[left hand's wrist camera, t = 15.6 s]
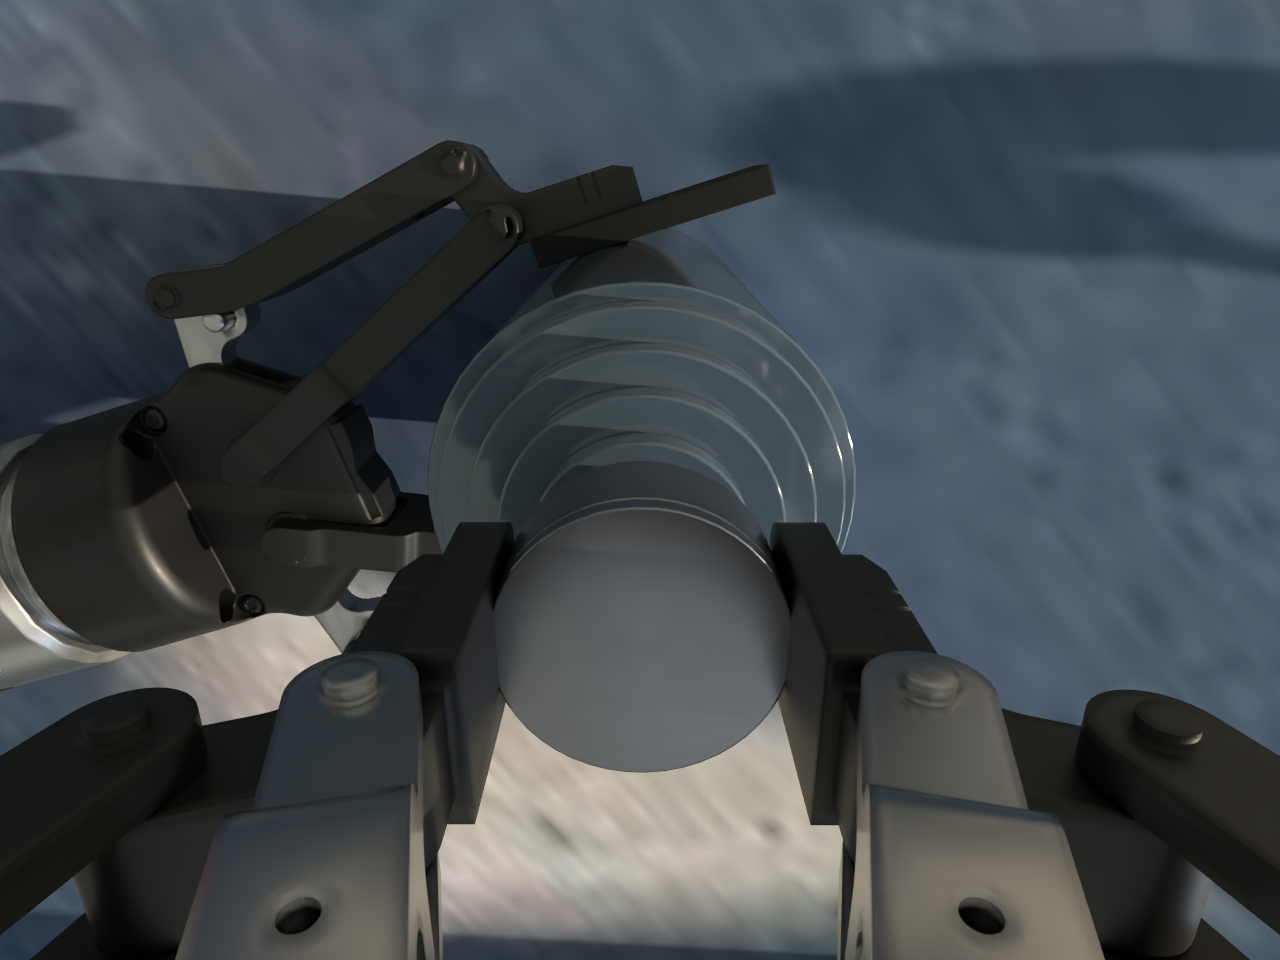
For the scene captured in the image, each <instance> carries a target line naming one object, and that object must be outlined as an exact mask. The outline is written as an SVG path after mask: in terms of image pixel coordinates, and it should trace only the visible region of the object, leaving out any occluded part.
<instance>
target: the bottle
mask: <svg viewBox="0 0 1280 960" xmlns="http://www.w3.org/2000/svg"><path fill="white" fill-rule="evenodd" d="M631 461H653V462H661V463H668V464H674V465H677V466H681V467H684V468H688V469H691V470H694V471H696V472H698V473H700V474H703V475H705V476H707V477H709V478H711V479H713V480H714V481H716V482H718V483H719V484H721V485H723V486H724V487H725V488H727V489H728V490H729V491H730V492H732V493H733V494H734V495H735V496H737V497H738V498H739V499H740V500H741V502H742V503H743V504H744V505H745V506H746V507H747V508H748V509H749V510H750V511H751V513H752V514H753V516H754V517H755V518H756V520H757V521H758V523H759V524H760V526H761V528H762V530H763V532H764V534H765V536H766V538H767V541H768V544H769V545H770V534H771V528H772V525H773V523H774V522H824V523H825V524H826V526H827V527H828V529H829V531H830V533H831V535H832V537H833V539H834V541H835V543H836V544H837V546H838V548H839V550H840V552H841V553H842V550H843V548H844V546H845V543H846V539H847V536H848V532H849V529H850V525H851V522H852V517H853V510H854V503H855V496H856V467H855V459H854V452H853V445H852V440H851V437H850V433H849V430H848V426H847V423H846V419H845V416H844V414H843V412H842V409H841V407H840V405H839V403H838V400H837V398H836V396H835V394H834V392H833V390H832V388H831V387H830V385H829V384H828V382H827V380H826V379H825V377H824V376H823V374H822V373H821V371H820V369H819V368H818V367H817V365H816V364H815V363H814V362H813V361H812V360H811V358H810V357H809V356H808V355H807V354H806V353H805V351H804V350H803V349H802V348H801V347H800V346H799V345H798V343H797V342H796V341H795V340H794V339H793V338H792V337H791V336H790V335H789V334H788V333H787V332H786V330H785V329H784V328H783V327H782V326H781V325H780V324H779V323H778V322H777V321H776V320H775V318H774V317H773V316H772V315H771V314H770V313H769V312H768V311H767V310H766V309H765V308H764V307H763V305H762V304H761V303H760V302H759V301H758V300H757V299H756V298H755V297H754V296H753V295H752V293H751V292H750V291H749V290H748V289H747V288H746V287H745V286H744V285H743V284H742V283H741V282H740V280H739V279H738V278H737V277H736V276H735V275H734V274H733V273H732V272H731V271H730V270H729V268H728V267H727V266H726V265H725V264H724V263H723V262H722V261H721V260H720V259H719V258H718V257H717V256H716V255H715V254H714V253H713V252H712V251H710V250H709V249H708V248H707V247H705V246H704V245H702V244H701V243H699V242H698V241H696V240H694V239H692V238H690V237H688V236H686V235H684V234H682V233H679V232H676V231H673V230H670V229H663V230H659V231H656V232H653V233H650V234H647V235H644V236H641V237H637V238H634V239H631V240H628V241H625V242H622V243H619V244H615V245H612V246H609V247H606V248H603V249H600V250H597V251H593V252H590V253H587V254H584V255H581V256H578V257H575V258H571V259H568V260H565V261H563V262H562V263H561V264H560V265H559V266H558V267H557V268H556V269H555V270H554V272H553V273H552V274H551V275H550V276H549V277H548V278H547V279H546V280H545V281H544V282H543V283H542V284H541V285H540V287H539V288H538V289H537V290H536V291H535V292H534V293H533V294H532V295H531V296H530V297H529V298H528V299H527V300H526V302H525V303H524V304H523V305H522V306H521V307H520V308H519V309H518V310H517V311H516V312H515V313H514V314H513V315H512V317H511V318H510V319H509V320H508V321H507V322H506V323H505V324H504V325H503V326H502V327H501V328H500V329H499V330H498V332H497V333H496V334H495V335H494V336H493V337H492V338H491V339H490V340H489V341H488V342H487V343H486V344H485V345H484V347H483V348H482V349H481V350H480V351H479V352H478V353H477V354H476V355H475V357H474V358H473V359H472V361H471V362H470V363H469V365H468V366H467V367H466V368H465V370H464V371H463V372H462V374H461V375H460V376H459V378H458V380H457V382H456V383H455V385H454V387H453V389H452V391H451V392H450V394H449V396H448V398H447V399H446V402H445V404H444V407H443V409H442V412H441V414H440V417H439V420H438V422H437V425H436V429H435V433H434V437H433V441H432V446H431V450H430V459H429V471H428V489H429V505H430V510H431V515H432V520H433V525H434V530H435V533H436V536H437V539H438V542H439V544H440V547H441V550H442V553H444V551H445V549H446V547H447V545H448V543H449V542H450V540H451V538H452V536H453V534H454V532H455V530H456V528H457V526H458V524H459V523H460V522H511V524H512V527H513V532H514V542H515V540H516V538H517V535H518V533H519V531H520V529H521V527H522V526H523V524H524V522H525V521H526V519H527V518H528V516H529V515H530V513H531V512H532V511H533V510H534V509H535V507H536V506H537V505H538V504H539V503H540V502H541V501H542V500H543V499H544V498H545V497H546V496H547V495H549V494H550V493H551V492H552V491H553V490H554V489H556V488H557V487H559V486H560V485H562V484H563V483H565V482H566V481H568V480H570V479H572V478H574V477H576V476H578V475H580V474H582V473H584V472H587V471H589V470H592V469H595V468H598V467H601V466H605V465H610V464H615V463H620V462H631Z"/></svg>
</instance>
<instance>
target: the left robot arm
mask: <svg viewBox="0 0 1280 960" xmlns="http://www.w3.org/2000/svg"><path fill="white" fill-rule="evenodd" d="M513 545H514V532H513V527H512V524H511V522H460V523H459V524H458V526H457V528H456V530H455V532H454V534H453V536H452V538H451V540H450V542H449V543H448V545H447V547H446V549H445V551H444V553H443V554H422V555H421V556H420V557H418V558H417V559H415V560H414V561H412V562H411V563H409V564H408V565H406V566H405V567H403V568H402V569H400V570H399V571H398V572H397V574H396V575H395V577H394V579H393V580H392V582H391V584H390V585H389V587H388V589H387V593H386V594H384V595H383V597H382V598H381V600H380V602H379V603H378V605H377V610H374V612H373V613H372V615H371V617H370V618H369V620H368V621H367V623H366V625H365V626H364V628H363V630H362V631H361V633H360V635H359V636H358V638H357V640H356V641H355V643H354V644H353V646H352V648H351V649H350V651H349V653H346V654H342V655H338V656H334V657H331V658H328V659H325V660H323V661H321V662H318V663H316V664H314V665H312V666H310V667H309V668H307V669H305V670H304V671H302V672H301V673H300V674H298V675H297V676H296V677H295V678H294V679H293V680H292V681H291V682H290V683H289V684H288V685H287V687H286V688H285V690H284V692H283V695H282V697H281V701H280V705H279V709H278V710H275V711H272V712H268V713H264V714H259V715H255V716H250V717H245V718H239V719H234V720H229V721H224V722H219V723H214V724H209V725H204V726H202V723H201V719H200V714H199V710H198V706H197V703H196V701H195V700H194V698H193V697H192V696H190V695H189V694H187V693H185V692H183V691H180V690H176V689H171V688H144V689H137V690H131V691H126V692H122V693H118V694H115V695H111V696H108V697H105V698H102V699H100V700H97V701H94V702H92V703H90V704H88V705H85V706H83V707H81V708H79V709H77V710H76V711H74V712H72V713H70V714H68V715H67V716H65V717H63V718H62V719H60V720H59V721H57V722H55V723H54V724H52V725H50V726H49V727H47V728H45V729H44V730H42V731H41V732H39V733H37V734H36V735H34V736H32V737H31V738H29V739H27V740H26V741H24V742H23V743H21V744H19V745H18V746H16V747H14V748H13V749H11V750H10V751H8V752H6V753H5V754H3V755H1V756H0V935H1V934H2V933H3V932H5V931H6V930H7V929H8V928H10V927H11V926H12V925H13V924H15V923H16V922H17V921H18V920H20V919H21V918H22V917H23V916H25V915H26V914H27V913H28V912H30V911H31V910H32V909H33V908H35V907H36V906H37V905H38V904H40V903H41V902H42V901H43V900H45V899H46V898H47V897H48V896H50V895H51V894H52V893H53V892H55V891H56V890H57V889H58V888H60V887H61V886H62V885H63V884H65V883H66V882H67V881H68V880H70V879H71V878H72V877H73V876H74V878H75V881H76V884H77V887H78V891H79V894H80V897H81V900H82V903H83V906H84V909H85V913H84V914H83V915H82V916H81V917H79V918H78V919H77V920H76V921H75V922H74V923H72V924H71V925H70V926H69V927H68V928H67V929H65V930H64V931H63V932H62V933H61V934H59V935H58V936H57V937H56V938H55V939H54V940H52V941H51V942H50V943H49V944H48V945H47V946H45V947H44V948H43V949H42V950H41V951H40V952H38V953H37V954H36V955H35V956H34V957H33V958H31V959H30V960H443V942H442V904H441V871H440V862H439V853H438V851H439V849H440V846H441V843H442V840H443V836H444V833H445V830H446V826H447V824H475V822H476V818H477V814H478V810H479V806H480V802H481V798H482V794H483V790H484V786H485V782H486V778H487V774H488V770H489V766H490V762H491V758H492V754H493V750H494V746H495V742H496V738H497V735H498V731H499V727H500V723H501V719H502V715H503V711H504V707H505V703H506V701H505V699H504V697H503V695H502V694H501V692H500V690H499V680H498V666H497V653H496V639H495V625H494V610H493V604H494V600H495V597H496V594H497V591H498V588H499V585H500V582H501V579H502V576H503V574H504V571H505V568H506V565H507V562H508V559H509V556H510V553H511V550H512V547H513ZM769 547H770V550H771V553H772V555H773V558H774V561H775V564H776V567H777V570H778V573H779V576H780V579H781V581H782V584H783V587H784V590H785V593H786V596H787V599H788V602H789V605H790V608H791V622H790V635H789V648H788V662H787V675H786V684H785V686H784V689H783V691H782V693H781V695H780V697H779V699H778V702H779V705H780V709H781V713H782V717H783V721H784V725H785V728H786V732H787V736H788V740H789V744H790V748H791V751H792V755H793V759H794V763H795V767H796V771H797V774H798V778H799V782H800V786H801V790H802V794H803V797H804V801H805V805H806V809H807V813H808V817H809V820H810V824H811V825H839V827H840V831H841V834H842V837H843V845H842V854H841V862H840V871H839V905H838V943H837V960H1250V959H1249V958H1247V957H1246V956H1245V955H1244V954H1243V953H1242V952H1240V951H1239V950H1238V949H1237V948H1236V947H1235V946H1233V945H1232V944H1231V943H1230V942H1229V941H1228V940H1226V939H1225V938H1224V937H1223V936H1222V935H1221V934H1219V933H1218V932H1217V931H1216V930H1215V929H1213V928H1212V927H1211V926H1210V925H1209V924H1208V923H1206V922H1205V921H1204V920H1203V919H1202V918H1201V916H1202V913H1203V910H1204V907H1205V904H1206V901H1207V898H1208V895H1209V892H1210V888H1211V885H1212V882H1214V883H1215V884H1217V885H1218V886H1219V887H1220V888H1222V889H1223V890H1224V891H1225V892H1227V893H1228V894H1229V895H1230V896H1232V897H1233V898H1234V899H1235V900H1237V901H1238V902H1239V903H1240V904H1242V905H1243V906H1244V907H1245V908H1247V909H1248V910H1249V911H1250V912H1252V913H1253V914H1254V915H1255V916H1257V917H1258V918H1259V919H1260V920H1262V921H1263V922H1264V923H1265V924H1267V925H1268V926H1269V927H1270V928H1272V929H1273V930H1274V931H1275V932H1277V933H1278V934H1279V935H1280V756H1279V755H1277V754H1275V753H1274V752H1272V751H1271V750H1269V749H1267V748H1266V747H1264V746H1262V745H1261V744H1259V743H1257V742H1256V741H1254V740H1253V739H1251V738H1249V737H1248V736H1246V735H1244V734H1243V733H1241V732H1239V731H1238V730H1236V729H1235V728H1233V727H1231V726H1230V725H1228V724H1226V723H1225V722H1223V721H1222V720H1220V719H1218V718H1217V717H1215V716H1213V715H1211V714H1210V713H1208V712H1206V711H1204V710H1202V709H1200V708H1198V707H1196V706H1193V705H1191V704H1189V703H1186V702H1184V701H1181V700H1178V699H1175V698H1172V697H1168V696H1165V695H1161V694H1157V693H1152V692H1146V691H1139V690H1113V691H1107V692H1103V693H1101V694H1098V695H1096V696H1094V697H1093V698H1091V699H1090V701H1089V702H1088V703H1087V705H1086V709H1085V713H1084V717H1083V721H1082V726H1078V725H1073V724H1068V723H1063V722H1058V721H1053V720H1048V719H1042V718H1037V717H1032V716H1028V715H1023V714H1019V713H1015V712H1012V711H1009V710H1006V709H1003V708H1001V705H1000V701H999V697H998V694H997V692H996V690H995V688H994V687H993V685H992V684H991V682H990V681H988V680H987V679H986V678H985V677H984V676H983V675H982V674H981V673H979V672H978V671H976V670H975V669H973V668H971V667H970V666H968V665H966V664H964V663H962V662H960V661H957V660H955V659H952V658H949V657H946V656H942V655H938V654H937V652H936V651H935V649H934V647H933V646H932V644H931V642H930V641H929V639H928V638H927V636H926V634H925V633H924V631H923V630H922V628H921V626H920V625H919V623H918V621H917V620H916V618H915V617H914V615H913V613H912V612H911V611H908V605H907V604H906V602H905V600H904V599H903V597H902V596H901V594H898V589H897V588H896V586H895V584H894V583H893V581H892V579H891V578H890V576H889V575H888V573H887V571H885V570H884V569H882V568H881V567H879V566H878V565H876V564H875V563H873V562H872V561H870V560H869V559H867V558H866V557H864V556H863V555H842V554H841V552H840V550H839V548H838V546H837V544H836V543H835V541H834V539H833V537H832V535H831V533H830V531H829V529H828V527H827V526H826V524H825V523H824V522H774V523H773V525H772V528H771V534H770V545H769Z"/></svg>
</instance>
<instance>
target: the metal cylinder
mask: <svg viewBox="0 0 1280 960" xmlns="http://www.w3.org/2000/svg"><path fill="white" fill-rule="evenodd" d="M493 610H494V625H495V639H496V653H497V666H498V680H499V690H500V692H501V694H502V695H503V697H504V699H505V701H506V703H507V704H508V706H509V707H510V708H511V710H512V711H513V713H514V714H515V716H516V717H517V718H518V719H519V720H520V721H521V722H522V723H523V724H524V725H525V727H526V728H527V729H528V730H530V731H531V732H532V733H533V734H534V735H535V736H537V737H538V738H539V739H540V740H541V741H543V742H544V743H546V744H548V745H549V746H551V747H552V748H554V749H555V750H557V751H559V752H561V753H563V754H565V755H567V756H569V757H571V758H573V759H575V760H578V761H581V762H584V763H586V764H589V765H592V766H596V767H600V768H604V769H609V770H616V771H623V772H659V771H667V770H673V769H678V768H683V767H686V766H690V765H693V764H696V763H700V762H702V761H705V760H707V759H709V758H712V757H714V756H716V755H718V754H720V753H722V752H724V751H725V750H727V749H729V748H731V747H733V746H734V745H735V744H737V743H738V742H739V741H741V740H742V739H744V738H745V737H746V736H748V735H749V734H750V733H751V732H752V731H753V730H754V729H755V728H756V727H757V726H758V725H759V724H760V723H761V722H762V721H763V720H764V718H765V717H766V716H767V715H768V714H769V712H770V711H771V710H772V708H773V707H774V705H775V703H776V702H777V700H778V699H779V697H780V695H781V693H782V691H783V689H784V686H785V684H786V675H787V662H788V648H789V635H790V622H791V608H790V605H789V602H788V599H787V596H786V593H785V590H784V587H783V584H782V581H781V579H780V576H779V573H778V570H777V567H776V564H775V561H774V558H773V555H772V553H771V550H770V547H769V544H768V541H767V538H766V536H765V534H764V532H763V530H762V528H761V526H760V524H759V523H758V521H757V520H756V518H755V517H754V516H753V514H752V513H751V511H750V510H749V509H748V508H747V507H746V506H745V505H744V504H743V503H742V502H741V500H740V499H739V498H738V497H737V496H735V495H734V494H733V493H732V492H730V491H729V490H728V489H727V488H725V487H724V486H723V485H721V484H719V483H718V482H716V481H714V480H713V479H711V478H709V477H707V476H705V475H703V474H700V473H698V472H696V471H694V470H691V469H688V468H684V467H681V466H677V465H674V464H668V463H661V462H653V461H631V462H620V463H615V464H610V465H605V466H601V467H598V468H595V469H592V470H589V471H587V472H584V473H582V474H580V475H578V476H576V477H574V478H572V479H570V480H568V481H566V482H565V483H563V484H562V485H560V486H559V487H557V488H556V489H554V490H553V491H552V492H551V493H550V494H549V495H547V496H546V497H545V498H544V499H543V500H542V501H541V502H540V503H539V504H538V505H537V506H536V507H535V509H534V510H533V511H532V512H531V513H530V515H529V516H528V518H527V519H526V521H525V522H524V524H523V526H522V527H521V529H520V531H519V533H518V535H517V538H516V540H515V542H514V545H513V547H512V550H511V553H510V556H509V559H508V562H507V565H506V568H505V571H504V574H503V576H502V579H501V582H500V585H499V588H498V591H497V594H496V597H495V600H494V604H493Z"/></svg>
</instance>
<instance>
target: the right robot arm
mask: <svg viewBox="0 0 1280 960" xmlns="http://www.w3.org/2000/svg"><path fill="white" fill-rule="evenodd" d="M773 194H776V192H775V188H774V184H773V179H772V175H771V171H770V167H769V164H764V165H756V166H752V167H749V168H746V169H742V170H739V171H736V172H733V173H730V174H727V175H724V176H721V177H718V178H715V179H711V180H708V181H705V182H702V183H699V184H696V185H693V186H690V187H687V188H683V189H680V190H677V191H674V192H671V193H668V194H665V195H662V196H659V197H655V198H652V199H649V200H646V201H643V202H642V199H641V195H640V192H639V188H638V185H637V181H636V178H635V174H634V171H633V167H626V166H615V165H611V166H608V167H605V168H602V169H599V170H596V171H593V172H590V173H587V174H584V175H581V176H578V177H575V178H572V179H569V180H566V181H563V182H560V183H557V184H553V185H550V186H547V187H544V188H541V189H538V190H535V191H532V192H529V193H522V192H519V191H516V190H514V189H512V188H511V187H509V186H508V185H507V184H506V183H505V182H504V181H503V179H502V178H501V177H500V175H499V174H498V173H497V171H496V170H495V169H494V167H493V166H492V165H491V163H490V162H489V160H488V157H487V155H486V154H485V153H484V152H483V150H482V149H480V148H478V147H477V146H475V145H471V144H466V143H462V142H457V141H450V140H448V141H444V142H441V143H439V144H437V145H435V146H433V147H432V148H430V149H428V150H426V151H425V152H423V153H421V154H419V155H418V156H416V157H414V158H412V159H411V160H409V161H407V162H405V163H404V164H402V165H400V166H398V167H396V168H395V169H393V170H391V171H389V172H388V173H386V174H384V175H382V176H381V177H379V178H377V179H375V180H374V181H372V182H370V183H368V184H367V185H365V186H363V187H361V188H360V189H358V190H356V191H354V192H352V193H351V194H349V195H347V196H345V197H344V198H342V199H340V200H338V201H337V202H335V203H333V204H331V205H330V206H328V207H326V208H324V209H323V210H321V211H319V212H317V213H316V214H314V215H312V216H310V217H309V218H307V219H305V220H303V221H301V222H300V223H298V224H296V225H294V226H293V227H291V228H289V229H287V230H286V231H284V232H282V233H280V234H279V235H277V236H275V237H273V238H272V239H270V240H268V241H266V242H265V243H263V244H261V245H259V246H257V247H256V248H254V249H252V250H250V251H249V252H247V253H245V254H243V255H242V256H240V257H238V258H236V259H235V260H233V261H231V262H229V263H224V264H216V265H208V266H202V267H197V268H192V269H187V270H182V271H177V272H172V273H167V274H162V275H158V276H156V277H153V278H152V279H151V280H150V281H149V282H148V283H147V286H146V290H145V294H146V300H147V302H148V304H149V306H150V308H151V309H152V310H153V311H154V312H155V313H156V314H157V315H159V316H162V317H164V318H166V319H174V321H175V324H176V327H177V330H178V334H179V337H180V340H181V343H182V346H183V349H184V352H185V356H186V359H187V362H188V365H189V369H187V370H186V371H185V372H183V373H182V374H181V375H180V376H179V378H178V379H177V381H176V382H175V383H174V384H173V386H172V387H171V388H169V389H168V390H167V391H166V392H163V393H160V394H157V395H154V396H151V397H148V398H144V399H141V400H138V401H135V402H132V403H129V404H126V405H122V406H119V407H116V408H113V409H110V410H107V411H104V412H101V413H97V414H94V415H91V416H88V417H85V418H82V419H79V420H75V421H72V422H69V423H66V424H63V425H60V426H57V427H55V428H53V429H51V430H49V431H47V432H46V433H45V434H31V435H28V436H25V437H22V438H19V439H16V440H12V441H9V442H6V443H3V444H0V691H3V690H7V689H11V688H13V687H16V686H19V685H23V684H27V683H31V682H34V681H38V680H42V679H46V678H49V677H53V676H57V675H61V674H64V673H68V672H72V671H76V670H79V669H83V668H87V667H91V666H94V665H98V664H102V663H106V662H109V661H112V660H115V659H118V658H120V657H123V656H126V655H128V654H129V653H131V652H139V651H144V650H149V649H153V648H156V647H160V646H163V645H167V644H170V643H174V642H177V641H181V640H184V639H188V638H191V637H195V636H198V635H202V634H205V633H209V632H212V631H216V630H219V629H223V628H226V627H230V626H233V625H236V624H239V623H242V622H245V621H248V620H251V619H253V618H256V617H259V616H261V615H265V614H269V613H287V614H293V615H298V616H315V617H316V619H317V620H318V621H319V623H320V624H321V625H322V627H323V628H324V629H325V631H326V632H327V634H328V635H329V636H330V638H331V639H332V640H333V642H334V643H335V644H336V646H337V647H338V648H339V650H340V651H341V653H342V654H346V653H349V651H350V649H351V648H352V646H353V644H354V643H355V641H356V640H357V638H358V636H359V635H360V633H361V631H362V630H363V628H364V626H365V625H366V623H367V621H368V620H369V618H370V617H371V615H372V613H373V612H374V610H377V605H378V603H379V602H380V600H381V598H382V597H383V596H381V597H375V598H370V599H362V598H359V597H356V596H355V595H353V594H352V593H351V592H350V591H349V590H348V589H347V588H348V586H349V585H350V583H351V582H352V580H353V579H354V578H355V576H356V575H357V573H358V572H359V571H360V569H366V570H376V571H386V572H398V571H399V570H400V569H402V568H403V567H405V566H406V565H408V564H409V563H411V562H412V561H414V560H415V559H417V558H418V557H420V556H421V555H422V554H443V553H442V550H441V547H440V544H439V542H438V539H437V536H436V533H435V530H434V525H433V520H432V515H431V510H430V505H429V496H428V495H423V494H415V493H405V492H401V491H400V489H399V487H398V484H397V482H396V480H395V478H394V475H393V473H392V471H391V470H390V468H389V467H388V466H387V464H386V463H385V462H384V461H383V459H382V458H381V457H380V455H379V454H378V453H377V451H376V448H375V442H374V436H373V429H372V425H371V423H370V420H369V418H368V416H367V413H366V411H365V409H364V407H363V404H361V405H357V406H356V405H355V404H354V403H353V402H352V401H353V400H354V399H355V398H356V397H357V396H358V395H359V394H360V393H362V392H363V391H364V390H365V389H366V388H367V387H368V386H369V385H370V384H371V383H372V382H373V381H374V380H376V379H377V378H378V377H379V376H380V375H381V373H382V372H383V371H384V370H386V369H387V368H388V367H389V366H390V365H391V364H392V363H393V362H394V361H395V360H396V359H397V358H398V357H400V356H401V355H402V354H403V353H404V352H405V351H406V350H407V349H408V348H409V347H410V346H411V345H413V344H414V343H415V342H416V341H417V340H418V339H419V338H420V337H421V336H422V335H423V334H424V333H425V332H427V331H428V330H429V329H430V328H431V327H432V326H433V325H434V324H435V323H436V322H437V321H438V320H439V319H441V318H442V317H443V316H444V315H445V314H446V313H447V312H448V311H449V310H450V309H451V308H452V307H454V306H455V305H456V304H457V303H458V302H459V301H460V300H461V299H462V298H463V297H464V296H465V295H466V294H468V293H469V292H470V291H471V290H472V289H473V288H474V287H475V286H476V285H477V284H478V283H479V282H480V281H482V280H483V279H484V278H485V277H486V276H487V275H488V274H489V273H490V272H491V271H492V270H493V269H495V268H496V267H497V266H498V265H499V264H500V263H501V262H502V261H503V260H504V259H505V258H506V257H507V256H509V255H510V254H511V253H512V252H513V251H514V250H515V249H516V248H517V247H518V246H519V245H521V244H524V243H528V242H531V245H532V248H533V251H534V254H535V256H536V259H537V262H538V265H539V268H543V267H546V266H549V265H552V264H556V263H559V262H562V261H565V260H568V259H571V258H575V257H578V256H581V255H584V254H587V253H590V252H593V251H597V250H600V249H603V248H606V247H609V246H612V245H615V244H619V243H622V242H625V241H628V240H631V239H634V238H637V237H641V236H644V235H647V234H650V233H653V232H656V231H659V230H663V229H666V228H669V227H672V226H675V225H678V224H682V223H685V222H688V221H691V220H694V219H697V218H700V217H704V216H707V215H710V214H713V213H716V212H719V211H722V210H726V209H729V208H732V207H735V206H738V205H741V204H744V203H748V202H751V201H754V200H757V199H760V198H763V197H767V196H770V195H773ZM454 201H456V203H457V204H458V205H459V207H460V208H461V209H462V210H463V212H464V213H465V214H466V215H467V217H468V218H469V219H470V220H471V222H470V223H469V224H468V225H466V226H465V227H464V228H463V229H462V230H461V231H460V232H459V233H458V234H457V235H456V236H455V237H454V238H453V239H452V240H451V241H450V242H449V243H448V244H447V245H445V246H444V247H443V248H442V249H441V250H440V251H439V252H438V253H437V254H436V255H435V256H434V257H433V258H432V259H431V260H430V261H429V262H428V263H427V264H426V265H425V266H423V267H422V268H421V269H420V270H419V271H418V272H417V273H416V274H415V275H414V276H413V277H412V278H411V279H410V280H409V281H408V282H407V283H406V284H405V285H404V286H402V287H401V288H400V289H399V290H398V291H397V292H396V293H395V294H394V295H393V296H392V297H391V298H390V299H389V300H388V301H387V302H386V303H385V304H384V305H383V306H381V307H380V308H379V309H378V310H377V311H376V312H375V313H374V314H373V315H372V316H371V317H370V318H369V319H368V320H367V321H366V322H365V323H364V324H363V325H362V326H360V327H359V328H358V329H357V330H356V331H355V332H354V333H353V334H352V335H351V336H350V337H349V338H348V339H347V340H346V341H345V342H344V343H343V344H342V345H341V346H340V347H338V348H337V349H336V350H335V351H334V352H333V353H332V354H331V355H330V356H329V357H328V358H327V359H326V360H324V361H323V362H322V363H321V364H320V365H318V366H317V367H316V368H315V369H313V370H312V371H311V372H310V373H309V374H308V375H307V376H306V377H304V378H301V377H298V376H295V375H291V374H288V373H285V372H282V371H279V370H276V369H273V368H270V367H266V366H263V365H260V364H257V363H254V362H251V361H248V360H245V359H241V358H238V357H236V352H235V347H236V343H237V341H238V339H239V338H240V337H241V336H242V335H244V334H246V333H249V332H251V331H253V330H254V329H255V328H256V327H257V326H258V324H259V322H260V307H259V305H258V303H260V302H263V301H266V300H269V299H272V298H275V297H278V296H281V295H284V294H286V293H288V292H290V291H292V290H294V289H297V288H298V287H300V286H302V285H304V284H306V283H307V282H309V281H311V280H313V279H315V278H316V277H318V276H320V275H322V274H324V273H326V272H327V271H329V270H331V269H333V268H335V267H336V266H338V265H340V264H342V263H344V262H345V261H347V260H349V259H351V258H353V257H354V256H356V255H358V254H360V253H362V252H363V251H365V250H367V249H369V248H371V247H372V246H374V245H376V244H378V243H380V242H381V241H383V240H385V239H387V238H389V237H390V236H392V235H394V234H396V233H398V232H400V231H401V230H403V229H405V228H407V227H409V226H410V225H412V224H414V223H416V222H418V221H419V220H421V219H423V218H425V217H427V216H428V215H430V214H432V213H434V212H436V211H437V210H439V209H441V208H443V207H445V206H446V205H448V204H450V203H452V202H454ZM342 654H341V655H342Z"/></svg>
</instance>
